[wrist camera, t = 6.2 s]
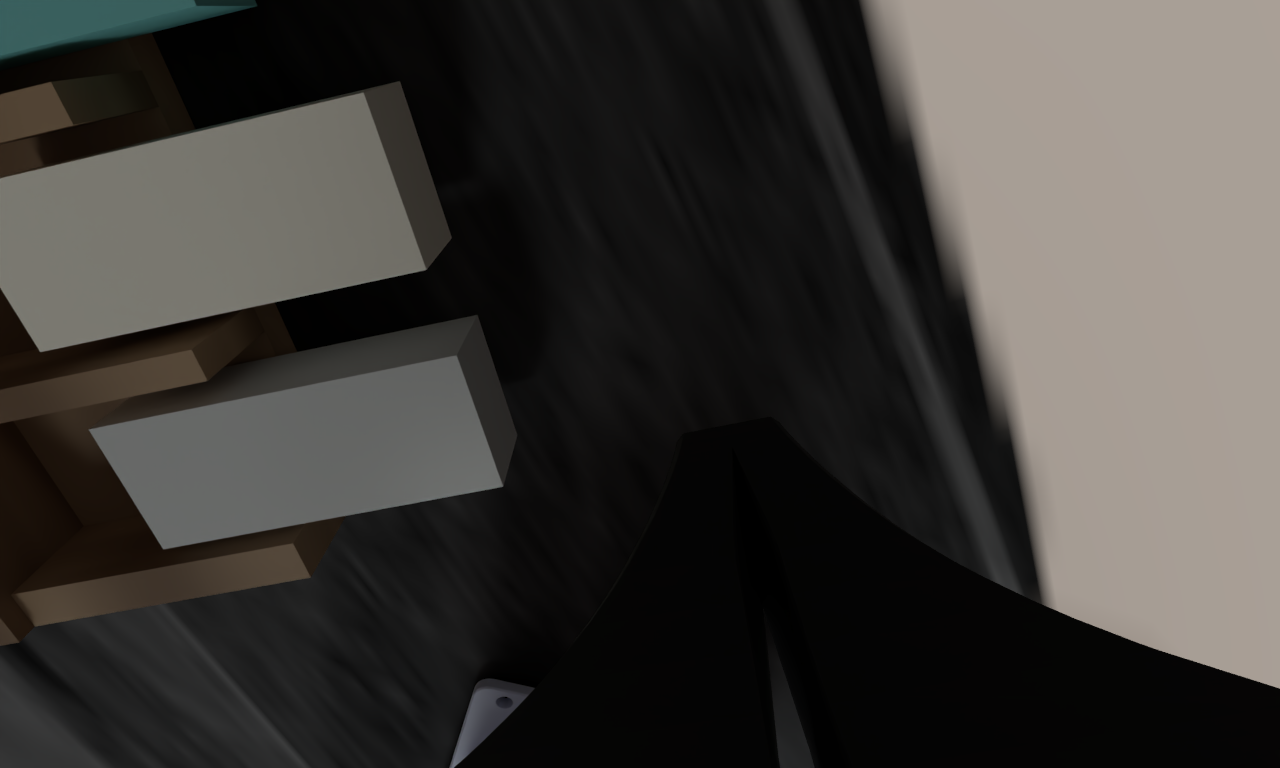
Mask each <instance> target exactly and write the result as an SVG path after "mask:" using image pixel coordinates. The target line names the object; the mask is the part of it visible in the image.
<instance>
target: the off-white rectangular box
mask: <svg viewBox="0 0 1280 768" xmlns="http://www.w3.org/2000/svg"><path fill="white" fill-rule="evenodd" d="M451 238H452V237H451V234H450V231H449V228H448V225H447V222H446V219H445V216H444V213H443V210H442V207H441V204H440V201H439V198H438V195H437V192H436V189H435V186H434V183H433V180H432V177H431V174H430V171H429V168H428V165H427V162H426V158H425V155H424V152H423V149H422V146H421V143H420V140H419V137H418V134H417V131H416V128H415V125H414V122H413V119H412V116H411V113H410V110H409V107H408V104H407V101H406V98H405V95H404V92H403V89H402V86H401V83H400V81H398V82H394V83H389V84H385V85H381V86H377V87H373V88H368V89H364V90H360V91H356V92H351V93H347V94H343V95H339V96H335V97H330V98H326V99H322V100H318V101H314V102H309V103H305V104H301V105H297V106H292V107H288V108H284V109H280V110H276V111H271V112H267V113H263V114H259V115H254V116H250V117H246V118H242V119H238V120H233V121H229V122H225V123H221V124H216V125H212V126H208V127H204V128H200V129H195V130H191V131H187V132H183V133H179V134H174V135H170V136H166V137H162V138H157V139H153V140H149V141H145V142H141V143H136V144H132V145H128V146H124V147H119V148H115V149H111V150H107V151H103V152H98V153H94V154H90V155H86V156H82V157H77V158H73V159H69V160H65V161H60V162H56V163H52V164H48V165H44V166H39V167H35V168H31V169H27V170H23V171H19V172H16V173H12V174H8V175H4V176H1V177H0V288H1V290H2V291H3V293H4V295H5V296H6V298H7V299H8V301H9V303H10V304H11V306H12V308H13V309H14V311H15V312H16V314H17V316H18V317H19V319H20V320H21V322H22V324H23V325H24V327H25V328H26V330H27V332H28V333H29V335H30V336H31V338H32V340H33V341H34V343H35V344H36V346H37V348H38V349H39V351H40V352H44V351H48V350H53V349H58V348H63V347H67V346H72V345H77V344H81V343H86V342H91V341H95V340H100V339H105V338H109V337H114V336H119V335H124V334H128V333H133V332H138V331H142V330H147V329H152V328H156V327H161V326H166V325H171V324H175V323H180V322H185V321H189V320H194V319H199V318H203V317H208V316H213V315H217V314H222V313H227V312H232V311H236V310H241V309H246V308H250V307H255V306H260V305H264V304H269V303H274V302H279V301H283V300H288V299H293V298H297V297H302V296H307V295H311V294H316V293H321V292H326V291H330V290H335V289H340V288H344V287H349V286H354V285H358V284H363V283H368V282H372V281H377V280H382V279H387V278H391V277H396V276H401V275H405V274H410V273H415V272H419V271H424V270H427V269H428V267H429V266H430V265H431V264H432V262H433V261H434V260H435V259H436V257H437V256H438V255H439V254H440V252H441V251H442V250H443V249H444V247H445V246H446V245H447V243H448V242H449V241H450V240H451Z"/></svg>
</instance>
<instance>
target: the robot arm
mask: <svg viewBox="0 0 1280 768" xmlns="http://www.w3.org/2000/svg"><path fill="white" fill-rule="evenodd" d="M763 608H764V611H765V614H766V618H767V621H768V624H769V627H770V630H771V633H772V636H773V639H774V642H775V645H776V648H777V651H778V654H779V658H780V661H781V664H782V667H783V670H784V673H785V676H786V679H787V682H788V685H789V688H790V691H791V694H792V697H793V700H794V703H795V706H796V709H797V712H798V715H799V719H800V722H801V725H802V728H803V731H804V734H805V737H806V740H807V743H808V746H809V749H810V752H811V756H812V759H813V763H814V766H815V768H1280V689H1279V688H1276V687H1273V686H1269V685H1267V684H1263V683H1260V682H1257V681H1254V680H1251V679H1248V678H1244V677H1241V676H1238V675H1235V674H1231V673H1229V672H1225V671H1222V670H1219V669H1216V668H1213V667H1210V666H1206V665H1203V664H1200V663H1197V662H1194V661H1191V660H1187V659H1184V658H1181V657H1178V656H1175V655H1171V654H1168V653H1165V652H1162V651H1159V650H1156V649H1153V648H1150V647H1148V646H1145V645H1142V644H1139V643H1136V642H1134V641H1131V640H1128V639H1126V638H1123V637H1121V636H1118V635H1116V634H1113V633H1111V632H1108V631H1105V630H1103V629H1100V628H1097V627H1095V626H1092V625H1090V624H1087V623H1085V622H1082V621H1079V620H1077V619H1074V618H1072V617H1070V616H1067V615H1065V614H1063V613H1060V612H1058V611H1056V610H1053V609H1051V608H1049V607H1046V606H1044V605H1042V604H1039V603H1037V602H1035V601H1033V600H1030V599H1028V598H1026V597H1024V596H1022V595H1020V594H1018V593H1016V592H1014V591H1012V590H1010V589H1008V588H1005V587H1003V586H1001V585H999V584H997V583H995V582H993V581H991V580H989V579H987V578H985V577H983V576H981V575H979V574H977V573H975V572H973V571H971V570H969V569H967V568H965V567H964V566H962V565H960V564H958V563H956V562H954V561H952V560H951V559H949V558H947V557H946V556H944V555H942V554H941V553H939V552H937V551H936V550H934V549H932V548H931V547H929V546H927V545H925V544H924V543H922V542H921V541H919V540H918V539H916V538H915V537H913V536H911V535H910V534H908V533H907V532H906V531H904V530H903V529H901V528H900V527H898V526H897V525H895V524H894V523H892V522H891V521H890V520H888V519H887V518H886V517H884V516H883V515H882V514H880V513H879V512H877V511H876V510H875V509H873V508H872V507H871V506H869V505H868V504H867V503H865V502H864V501H863V500H862V499H860V498H859V497H858V496H856V495H855V494H854V493H853V492H851V491H850V490H849V489H848V488H847V487H846V486H844V485H843V484H842V483H841V482H840V481H839V480H837V479H836V478H835V477H834V476H833V475H831V474H830V473H829V472H828V471H827V470H826V469H825V468H823V467H822V466H821V465H820V464H819V463H818V462H817V461H816V460H815V459H814V458H813V457H812V456H811V455H810V454H808V453H807V452H806V451H805V450H804V449H803V448H802V447H801V446H800V445H799V444H798V443H797V442H796V441H795V440H794V438H793V437H792V436H791V435H790V434H789V433H788V432H787V431H786V430H785V429H784V427H783V426H782V425H781V424H780V423H779V422H778V421H776V420H775V419H773V418H772V417H767V418H762V419H757V420H752V421H746V422H741V423H736V424H731V425H726V426H720V427H715V428H710V429H705V430H700V431H694V432H689V433H684V434H683V435H682V436H681V438H680V439H679V440H678V442H677V445H676V450H675V454H674V457H673V461H672V464H671V467H670V470H669V473H668V475H667V478H666V481H665V483H664V486H663V489H662V491H661V493H660V496H659V498H658V500H657V502H656V505H655V507H654V509H653V512H652V514H651V516H650V518H649V521H648V523H647V525H646V527H645V529H644V531H643V533H642V535H641V536H640V538H639V540H638V542H637V544H636V546H635V548H634V550H633V551H632V553H631V555H630V557H629V559H628V561H627V563H626V565H625V566H624V568H623V570H622V572H621V573H620V575H619V576H618V578H617V580H616V581H615V583H614V585H613V586H612V588H611V589H610V591H609V593H608V594H607V596H606V597H605V599H604V600H603V602H602V603H601V605H600V606H599V608H598V609H597V610H596V612H595V613H594V615H593V616H592V618H591V619H590V621H589V622H588V623H587V625H586V626H585V627H584V629H583V630H582V631H581V633H580V634H579V635H578V636H577V638H576V639H575V640H574V642H573V643H572V644H571V645H570V647H569V648H568V649H567V651H566V652H565V653H564V655H563V656H562V657H561V658H560V660H559V661H558V662H557V663H556V665H555V666H554V667H553V668H552V669H551V671H550V672H549V673H548V674H547V675H546V676H545V678H544V679H543V680H542V681H541V682H540V683H539V685H538V686H537V687H536V688H533V687H528V686H524V685H519V684H515V683H510V682H506V681H501V680H497V679H490V678H488V679H483V680H481V681H479V682H478V683H477V684H476V685H475V688H474V691H473V694H472V697H471V700H470V703H469V707H468V710H467V713H466V716H465V719H464V722H463V726H462V729H461V732H460V735H459V738H458V741H457V745H456V748H455V751H454V754H453V757H452V760H451V764H450V767H449V768H780V765H779V758H778V749H777V740H776V730H775V720H774V710H773V701H772V691H771V681H770V671H769V662H768V652H767V642H766V633H765V623H764V614H763ZM503 697H508V698H503Z"/></svg>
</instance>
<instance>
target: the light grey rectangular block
mask: <svg viewBox="0 0 1280 768" xmlns="http://www.w3.org/2000/svg"><path fill="white" fill-rule="evenodd" d="M89 431H90V433H91V434H92V436H93V437H94V439H95V441H96V442H97V444H98V445H99V447H100V449H101V450H102V452H103V453H104V455H105V457H106V458H107V460H108V461H109V463H110V465H111V466H112V468H113V470H114V471H115V473H116V474H117V476H118V478H119V479H120V481H121V482H122V484H123V486H124V487H125V489H126V490H127V492H128V494H129V495H130V497H131V498H132V500H133V502H134V503H135V505H136V506H137V508H138V510H139V511H140V513H141V514H142V516H143V518H144V519H145V521H146V522H147V524H148V526H149V527H150V529H151V530H152V532H153V534H154V535H155V537H156V538H157V540H158V542H159V543H160V545H161V546H162V548H163V549H168V548H174V547H179V546H184V545H190V544H195V543H201V542H206V541H212V540H217V539H222V538H228V537H233V536H239V535H244V534H249V533H255V532H260V531H266V530H271V529H277V528H282V527H287V526H293V525H298V524H304V523H309V522H315V521H320V520H325V519H331V518H336V517H342V516H347V515H353V514H358V513H363V512H369V511H374V510H380V509H385V508H390V507H396V506H401V505H407V504H412V503H418V502H423V501H428V500H434V499H439V498H445V497H450V496H456V495H461V494H466V493H472V492H477V491H483V490H488V489H493V488H499V487H503V485H504V482H505V478H506V475H507V471H508V467H509V464H510V460H511V456H512V453H513V449H514V446H515V442H516V438H517V433H516V430H515V427H514V424H513V421H512V418H511V415H510V412H509V409H508V406H507V403H506V400H505V397H504V394H503V391H502V388H501V385H500V382H499V378H498V375H497V372H496V369H495V366H494V363H493V360H492V357H491V354H490V351H489V348H488V345H487V342H486V339H485V336H484V333H483V330H482V327H481V324H480V321H479V318H478V315H474V316H470V317H465V318H460V319H455V320H450V321H445V322H440V323H436V324H431V325H426V326H421V327H416V328H411V329H406V330H402V331H397V332H392V333H387V334H382V335H377V336H372V337H368V338H363V339H358V340H353V341H348V342H343V343H339V344H334V345H329V346H324V347H319V348H314V349H309V350H305V351H300V352H295V353H290V354H285V355H280V356H275V357H271V358H266V359H261V360H256V361H251V362H246V363H241V364H237V365H232V366H227V367H223V368H222V369H221V370H220V371H219V372H218V373H216V374H215V375H214V376H213V377H212V378H211V379H210V380H208V381H206V382H201V383H196V384H191V385H186V386H181V387H176V388H172V389H167V390H162V391H157V392H152V393H147V394H142V395H137V396H133V397H130V398H129V399H127V400H126V401H125V402H124V403H122V404H121V405H120V406H118V407H117V408H116V409H115V410H113V411H112V412H111V413H109V414H108V415H107V416H105V417H104V418H103V419H102V420H100V421H99V422H98V423H96V424H95V425H94V426H92V427H91V428H90V429H89Z"/></svg>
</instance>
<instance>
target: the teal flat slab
mask: <svg viewBox="0 0 1280 768" xmlns="http://www.w3.org/2000/svg"><path fill="white" fill-rule="evenodd" d="M256 6H257V4H256V1H255V0H0V71H1V70H5V69H9V68H13V67H17V66H21V65H25V64H29V63H33V62H37V61H41V60H45V59H49V58H53V57H57V56H61V55H65V54H69V53H73V52H77V51H81V50H85V49H89V48H93V47H97V46H101V45H105V44H109V43H112V42H116V41H120V40H124V39H128V38H132V37H136V36H140V35H144V34H148V33H152V32H156V31H160V30H164V29H168V28H172V27H176V26H180V25H184V24H188V23H192V22H196V21H200V20H204V19H208V18H212V17H216V16H220V15H224V14H228V13H232V12H236V11H240V10H244V9H248V8H252V7H256Z"/></svg>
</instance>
